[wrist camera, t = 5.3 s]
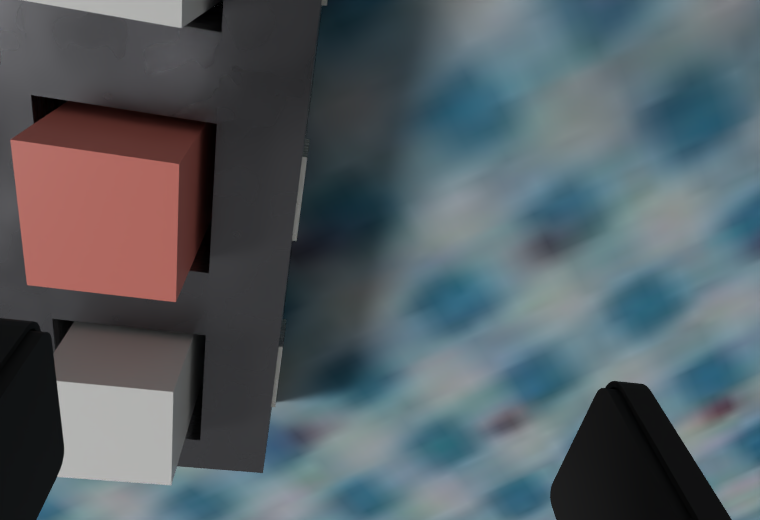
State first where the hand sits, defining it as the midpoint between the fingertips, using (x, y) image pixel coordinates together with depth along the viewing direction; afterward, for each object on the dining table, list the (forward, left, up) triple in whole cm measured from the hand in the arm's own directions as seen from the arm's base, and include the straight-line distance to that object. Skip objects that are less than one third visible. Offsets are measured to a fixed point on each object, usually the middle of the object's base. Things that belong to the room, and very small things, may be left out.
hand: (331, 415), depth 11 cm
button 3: (+8, -6, -13) cm, 16 cm away
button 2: (+1, -6, -13) cm, 14 cm away
